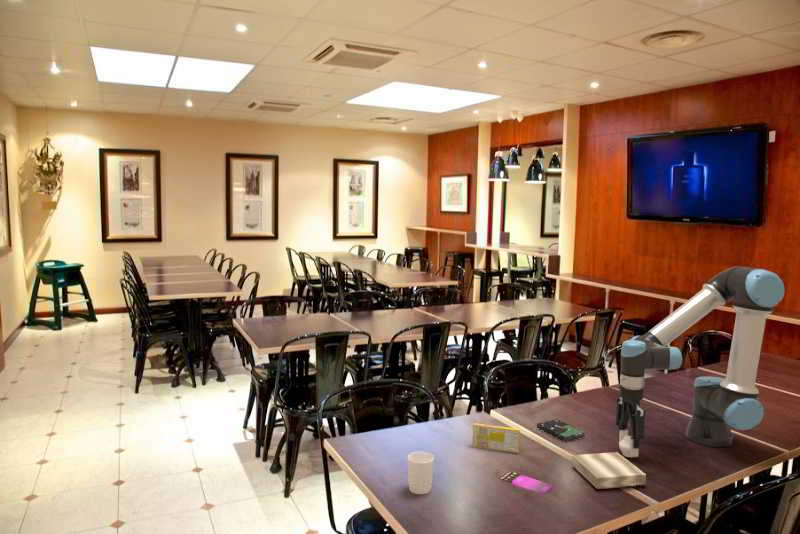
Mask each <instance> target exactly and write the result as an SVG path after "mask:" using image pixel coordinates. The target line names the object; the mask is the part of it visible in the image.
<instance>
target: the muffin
mask: <svg viewBox="0 0 800 534" xmlns="http://www.w3.org/2000/svg"><path fill="white" fill-rule="evenodd" d="M630 437H632V435H628V436H625V437H624V439H623V440H622V441H620V443H619V442H618V447H619V446H620V451H621V453H622V456H623V457H626V458H631V457H630V439H631V438H630Z"/></svg>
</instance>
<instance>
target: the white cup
mask: <svg viewBox="0 0 800 534" xmlns="http://www.w3.org/2000/svg"><path fill="white" fill-rule="evenodd" d="M406 459H407V461H406V462H407V480H408V481H407V482H408V491H409V492H411V493H412V494H415V495H426V494H428V493H430V492H431V491H432V489H433V488H432V487H433V486H432V485H433V478H434V476H433V475H434V465H435V463H434V462H435V457H434V455H433V454H432V453H429V452H427V451H413V452H411V453H409V454H408V455H407V457H406Z"/></svg>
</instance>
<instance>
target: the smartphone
mask: <svg viewBox="0 0 800 534" xmlns="http://www.w3.org/2000/svg"><path fill="white" fill-rule="evenodd" d="M499 480H501V481H504V482H506V483H509V484H512V485H515V486H517V487H520V488H523V489H525V490H528V489H529V491H531V490H533V491H532V492H534V491H535V492H534V493H537V494H540V495H542V494H543V495H542V496H544V495H546V494H547V493H548V492H549V491H550V489H551V490H552V489H553V488H554V487H555V485H553V484H549V483H547V482H545V481H541V480H537V479H536V478H532V477H529V476H526V475H523V474H521V473H517V472H514V471H511V470H510V471H508V472H507V473H505V474H504V475H502V476H501V477H500V478H499Z"/></svg>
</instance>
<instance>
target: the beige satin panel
mask: <svg viewBox="0 0 800 534" xmlns="http://www.w3.org/2000/svg"><path fill="white" fill-rule="evenodd" d="M571 466H573V468H574V469H576V471H577V472H578V473H580V474H581V475H582V476H583V477H584V478H585V479H586V480H587V481H589V483H590V484H592V485H593V487H594V488H595V489H597V490H603V489H615V488H617V489H618V488H627V487H626V486H631V487H640V486H645V485H646V482H647V481H646V479H647V474H646V473H644V472H643V471H642V470H641V469H640V468H638V466H636V465H635V464H634V463H632V462H630V461H629V460H628V459H627V458H625V456H624V455H623V454H622V455H621V454H620V453H619V452H618V451H615V452H600V453H585V454H572V455H571ZM636 485H638V486H636ZM639 485H640V486H639Z"/></svg>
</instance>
